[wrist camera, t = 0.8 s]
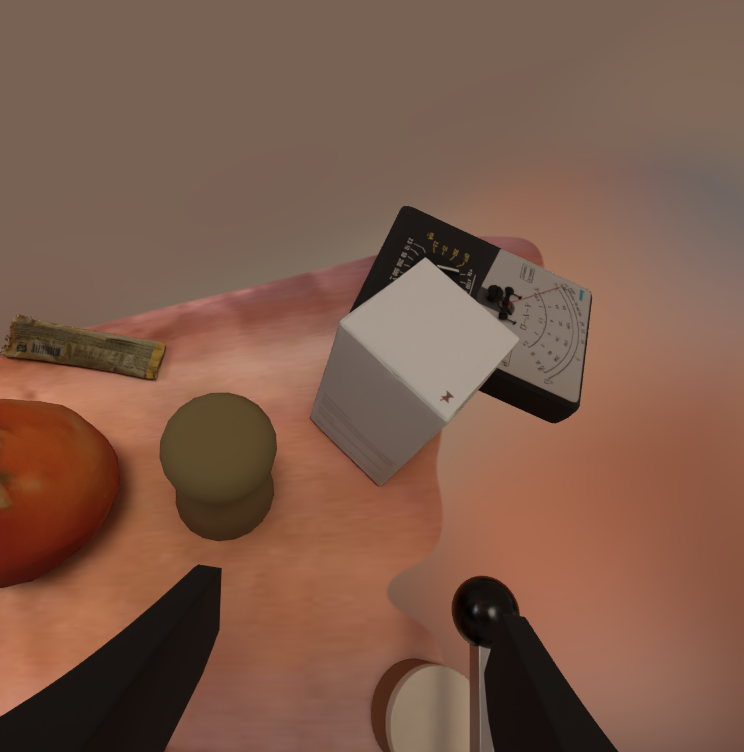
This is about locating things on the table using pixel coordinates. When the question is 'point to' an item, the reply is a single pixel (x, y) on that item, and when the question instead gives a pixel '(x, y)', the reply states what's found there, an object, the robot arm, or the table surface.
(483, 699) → the lever with black knob
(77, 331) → the snack bar
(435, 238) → the multimeter
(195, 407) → the pepper shaker
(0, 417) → the tomato
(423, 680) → the cake
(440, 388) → the white packaging box
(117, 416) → the table surface
